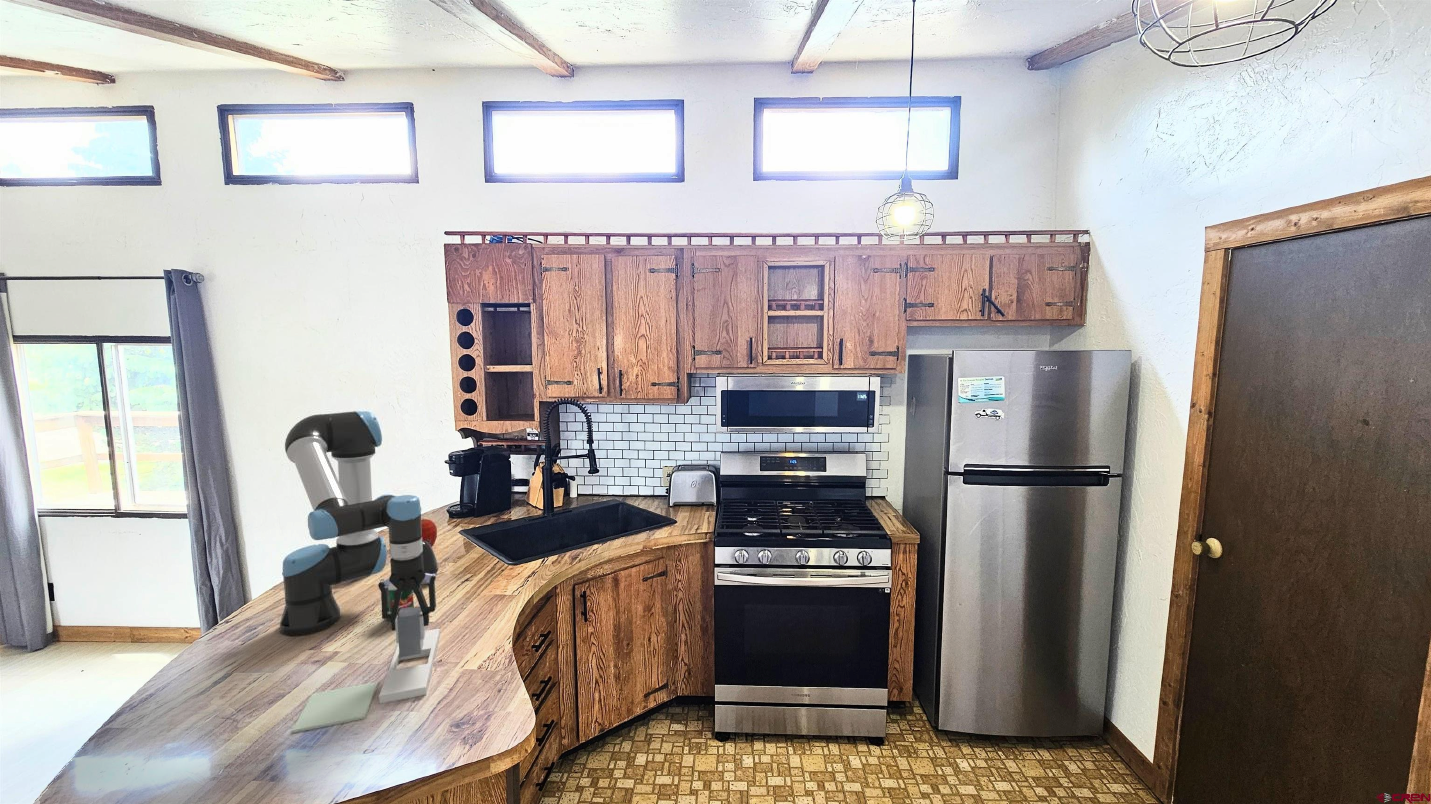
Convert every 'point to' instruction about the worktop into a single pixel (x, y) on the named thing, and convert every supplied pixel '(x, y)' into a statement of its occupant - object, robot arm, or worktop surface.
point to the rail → (410, 672)
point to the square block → (409, 631)
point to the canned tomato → (405, 599)
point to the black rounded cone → (428, 560)
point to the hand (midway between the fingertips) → (411, 638)
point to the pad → (336, 707)
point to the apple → (428, 531)
